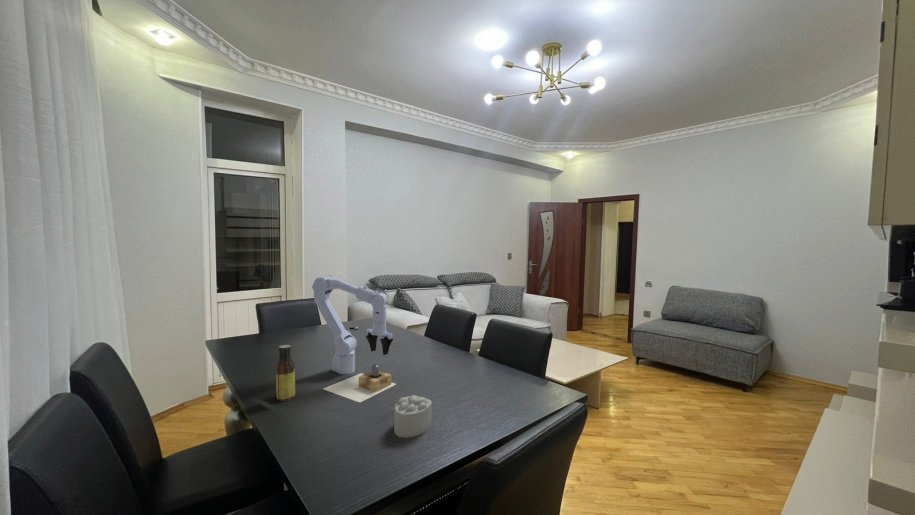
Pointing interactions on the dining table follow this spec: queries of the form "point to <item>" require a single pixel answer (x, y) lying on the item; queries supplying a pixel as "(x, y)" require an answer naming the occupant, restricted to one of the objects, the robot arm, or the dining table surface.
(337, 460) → the dining table surface
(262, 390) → the dining table surface
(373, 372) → the metal peg
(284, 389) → the sauce bottle
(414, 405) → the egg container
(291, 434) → the dining table surface
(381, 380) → the square wooden ring
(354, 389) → the board
